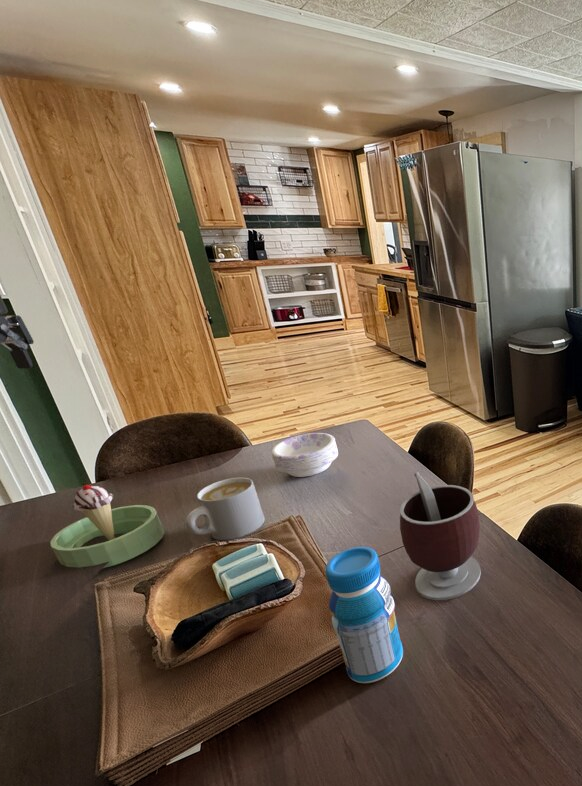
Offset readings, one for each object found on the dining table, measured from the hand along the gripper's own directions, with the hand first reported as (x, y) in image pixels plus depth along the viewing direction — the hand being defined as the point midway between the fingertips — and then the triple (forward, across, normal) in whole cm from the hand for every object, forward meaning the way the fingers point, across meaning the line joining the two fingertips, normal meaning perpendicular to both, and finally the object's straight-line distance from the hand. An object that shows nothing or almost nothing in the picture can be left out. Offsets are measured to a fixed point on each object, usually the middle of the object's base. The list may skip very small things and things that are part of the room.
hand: (7, 374), depth 94 cm
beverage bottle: (+36, +55, +71) cm, 97 cm away
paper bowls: (+36, -17, +42) cm, 58 cm away
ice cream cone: (+36, +12, +13) cm, 40 cm away
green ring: (+36, +12, +13) cm, 40 cm away
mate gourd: (+36, +37, +81) cm, 96 cm away
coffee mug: (+36, +10, +33) cm, 50 cm away
